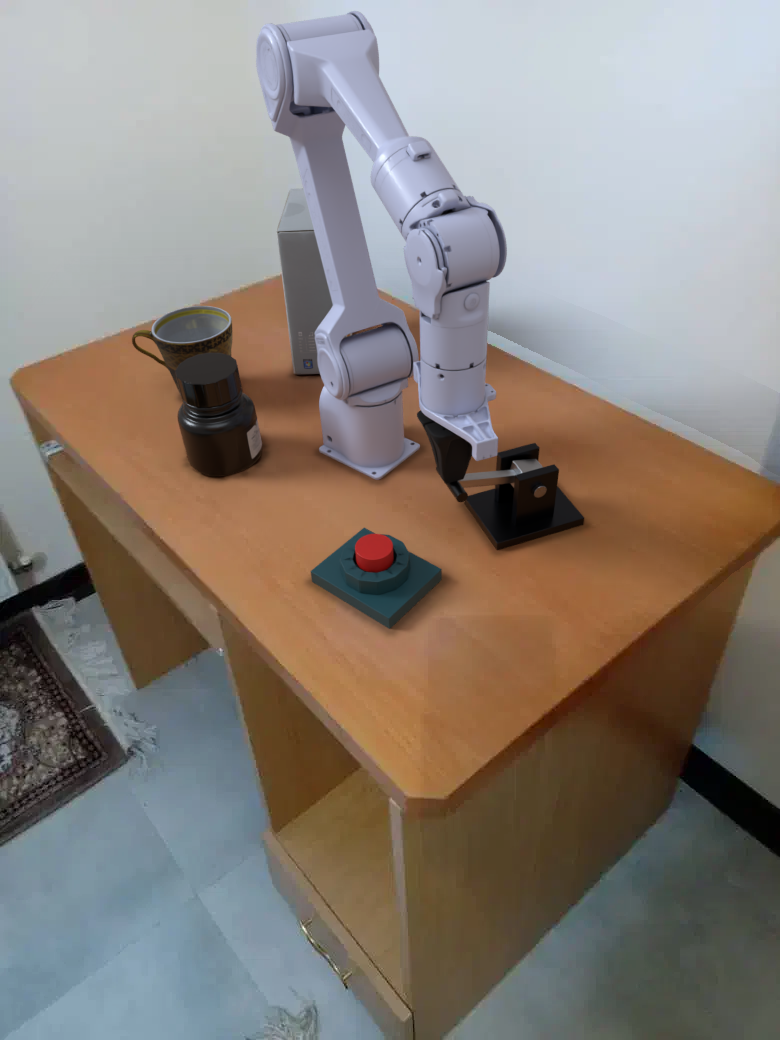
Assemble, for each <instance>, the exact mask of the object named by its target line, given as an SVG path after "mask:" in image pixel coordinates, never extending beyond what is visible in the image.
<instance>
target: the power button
mask: <svg viewBox="0 0 780 1040" xmlns="http://www.w3.org/2000/svg"><path fill="white" fill-rule="evenodd" d="M382 534H383V533H375V534H369V535H365V536H363V537H361V538H360V539H359V540H358V541H357V543H356V545H355V553H356V562H357V565H358V566H359V567H360V568H361V569H362V570H364V571H366V572H373V573H377V572H381V571H384V570H386V569H388V568H389V567H390V566H391V565H392V563H393V561H394V555H393V543H392V541H391V540H390V539H389V538H388V537H387V536H385V535H386V534H385V535H382Z"/></svg>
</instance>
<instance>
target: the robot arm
mask: <svg viewBox="0 0 780 1040" xmlns="http://www.w3.org/2000/svg"><path fill="white" fill-rule="evenodd" d="M378 45H379V44H378V39H377V36H376V35H375V32H374V28H373V26H372V25H371V23H370V22H369V21H368V19H367V18H366V16H365V15H364V14H363V13H362V12H361V11H358V10H351V11H348V12H347V13H345V14H338V15H333V16H326V17H319V18H312V19H306V20H305V19H304V20H298V21H292V22H285V23H278V24H274V23H273V22H270V23H265V24H263V25H262V26H261V28H260V31H259V34H258V36H257V39H256V46H255V53H256V58H255V63H256V64H255V65H256V66H255V67H256V72H257V76H258V80H259V84H260V89H261V92H262V95H263V100H264V103H265V108H266V112H267V115H268V118H269V119H270V122H271V124H272V130H273V131H274V132H276V133H278V134H280V135H284V136H286V137H288V138H289V141H290V144H291V147H292V151H293V154H294V157H295V162H296V165H297V169H298V173H299V176H300V181H301V184H302V188H303V189H304V193H305V197H306V201H307V205H308V209H309V213H310V216H311V220H312V224H313V228H314V232H315V236H316V240H317V244H318V248H319V252H320V256H321V260H322V264H323V268H324V272H325V276H326V280H327V284H328V287H329V291H330V295H331V299H332V303H333V306H332V308H331V310H330V311H329V312H328V314H327V315H326V317H325V318H324V319H323V321H322V322H321V323H320V325H319V326H318V328H317V329H316V331H315V342H316V347H317V353H318V355H317V361H318V368H319V372H320V374H319V375H320V378H321V381H322V383H323V387H322V389H321V392H320V394H319V400H318V410H319V418H320V426H321V427H320V428H321V434H322V442H323V444H322V445H320V446H319V448H318V451H319V453H320V454H323V455H324V456H326V457H328V458H330V459H332V460H335V461H336V462H339V463H341V464H343V465H344V466H346V467H349V468H351V469H352V470H354V471H357V472H358V473H361V474H363V475H364V476H367V477H368V478H371V479H373V480H376V481H379V480H381V479H383V478H384V477H385V476H387V475H388V474H389V473H390V472H392V471H393V470H395V469H396V468H397V467H398V466H399V465H401V464H402V463H403V462H405V461H406V460H407V459H409V458H410V457H411V456H413V455H414V454H415V453H417V451H419V450H420V449H421V444H420V443H418V442H416V441H414V440H412V439H409V438H407V437H405V426H404V425H405V424H404V399H403V390H406V389H407V388H409V379H410V378H412V377H413V380H414V382H415V383H416V384H417V392H418V393H417V394H418V407H419V411H418V412H417V413H416V417H417V419H418V421H419V422H420V424H421V426H422V428H423V429H424V432H425V434H426V436H427V438H428V441H429V443H430V444H429V445H430V447H431V451H432V454H433V459H434V462H435V465H436V466H437V469H438V472H439V474H438V476H439V478H441V481H442V482H443V483H444V484H445V483H446V484H447V483H451V482H455V481H458V480H462V479H464V477H465V474H467V471H468V468H469V465H470V462H471V460H472V458H473V459H474V460H475V461H476V462H480V461H482V460H488V459H491V458H494V457H497V453H498V452H499V437H498V435H497V434H496V432H495V431H494V428H493V424H492V419H491V418H492V417H491V413H490V412H491V411H490V407H489V402H491V401H495V400H496V398H497V391H496V389H495V388H494V387H493V386H492V385H491V384H490V383H486V378H487V376H486V375H487V374H486V373H487V356H488V355H487V354H488V335H489V334H488V333H489V310H490V290H491V289H490V287H491V282H490V280H492V279H493V278H497V277H498V276H500V275H501V273H503V271H504V269H505V266H506V262H507V257H508V256H507V255H508V246H507V245H508V244H507V240H506V239H507V238H506V234H505V230H504V227H503V225H502V222H501V220H500V219H499V217H498V215H497V213H496V210H495V209H494V208H493V207H492V206H490V205H489V204H488V203H486V202H479V201H477V200H476V198H475V197H474V196H471V195H467V196H466V195H464V194H463V192H462V191H461V189H460V188H459V185H458V184H457V183H456V181H455V180H454V178H453V177H452V175H451V172H450V171H448V169H447V167H446V165H445V164H444V162H443V161H442V160H441V158H440V156H439V154H438V153H437V152H436V150H435V148H434V147H433V146H432V144H431V142H430V141H428V139H426V138H424V137H422V136H416V135H415V136H414V135H409V133H408V131H407V129H406V127H405V124H404V123H403V121H402V119H401V117H400V115H399V113H398V111H397V109H396V107H395V105H394V103H393V101H392V99H391V97H390V95H389V93H388V90H387V89H386V87H385V85H384V83H383V81H382V79H381V77H380V52H379V46H378ZM346 127H347V129H348V131H349V132H350V133H351V134H352V136H353V137H354V139H356V141H357V143H358V144H359V145H360V146H361V148H362V149H363V150H364V152H365V153H366V154H367V156H368V157H369V158H370V160H371V161H372V163H373V165H372V168H371V171H370V183H371V186H372V188H373V190H374V191H375V193H376V195H377V196H378V198H379V200H380V202H381V203H382V204H383V205H382V206H383V207H384V208H385V210H386V211H387V213H388V215H389V216H390V218H391V220H392V222H393V223H394V225H395V226H396V229H398V231H399V233H400V235H401V236H402V238H403V240H404V241H405V246H403V256H404V262H405V263H404V264H405V266H406V269H407V273H408V276H409V279H410V282H411V288H412V289H411V291H412V300H413V303H414V307H415V308H417V309H418V310H419V349H420V351H419V349H418V345H417V342H416V340H415V337H414V335H413V333H412V331H411V330H410V327H409V324H408V321H407V318H406V315H405V311H404V310H403V309H401V308H400V307H398V306H397V305H395V304H393V303H391V302H389V301H386V300H385V299H383V298H381V297H380V295H379V291H378V286H377V283H376V277H375V274H374V270H373V265H372V260H371V256H370V252H369V247H368V244H367V239H366V235H365V230H364V227H363V226H364V225H363V223H362V218H361V213H360V210H359V205H358V200H357V196H356V191H355V188H354V184H353V179H352V175H351V171H350V166H349V162H348V157H347V153H346V150H345V149H346V148H345V145H344V141H343V134H344V131H345V128H346ZM376 326H377V327H376ZM373 327H374V328H373ZM370 328H372V329H370ZM367 329H368V330H367ZM362 330H364V331H362ZM360 331H362V332H360ZM357 332H359V333H357ZM350 333H352V335H351V336H348V337H345V336H346V335H348V334H350ZM353 333H354V334H353ZM344 337H345V338H344ZM419 352H420V355H419ZM419 356H420V358H419ZM436 466H435V467H436ZM438 472H437V473H438ZM446 484H445V485H446Z"/></svg>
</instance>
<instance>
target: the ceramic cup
mask: <svg viewBox="0 0 780 1040" xmlns="http://www.w3.org/2000/svg"><path fill="white" fill-rule="evenodd" d="M138 337H142V338H143V337H144V338H146V339H149V340H151V341H152V342H153V343H154V344H155V346H156V347H157V349H158V351H159V353H160V355H161V358H162V359H160V358H159V356H157V355H155V354H153V353H151V352H150V351H148V350H146V349H144V348H143V347H140V346H139V345H138V344H137V342H136V338H138ZM131 343H132V344H131V345H132V347H133V348H135V349H136V350H137V351H138V352H140V353H141V354H143V355H145V356H147V357H149V358H151V359H153V361H155V362H156V363H158V364H160V365H161V366H163V367H164V368H166V369H167V370H168V371H169V374H170V375H171V377H172V379H173V382H174V384H175V386H176V388H177V390H178V393H179V396H181V394H180V390H179V386H178V382H177V378H176V373H175V370H176V369H177V367H178V365H179V364H180V363H182V362H183V361H185V360H186V359H187V358H190V357H193V356H196V355H198V354H205V353H222V354H226V355H230V356H231V357H232V347H233V319H232V316H231V315H230V313H229V312H228V311H226V310H225V309H222V308H220V307H215V306H210V305H193V306H187V307H181V308H177V309H174V310H172V311H169V312H167V313H165V314H163V315H162V316H160V317H159V318H157V319H156V320H155V322H153V324H152V326H151V330H149V329H139V330H137V331H135V332H134V333H133V334H132V336H131Z"/></svg>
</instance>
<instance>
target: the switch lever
mask: <svg viewBox="0 0 780 1040" xmlns="http://www.w3.org/2000/svg"><path fill="white" fill-rule="evenodd" d="M542 467H544V466H543V465H542V464H541V463H540V462H539V460H538V461H537V459H525V460H514V461H512V465H511V468H510V470H500V471H496V470H490V471H479V472H468V473H467V472H466V474H465V477H464V479H462V480H458V481H455V482H451V483H447V484H446V483H444V484H445V485H446V487H447V489H448V490H449V491H450V493H451V494H452V496H453V497H454V499H455V500H456V501H457V502H458V503H465V500H466V499H467V498H468V496H469V494H468V492H467V491H466V489H467V488H477V487H478V488H479V487H489V486H495V485H499V484H509V483H510V484H511V485H512V486H513V488H514V481H515V475H517V474H520V473H524V472H528V471H531V470H535V469H539V468H542ZM435 471H436V473H437V474H438V475H439V472H438V469H437V466H435Z"/></svg>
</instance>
